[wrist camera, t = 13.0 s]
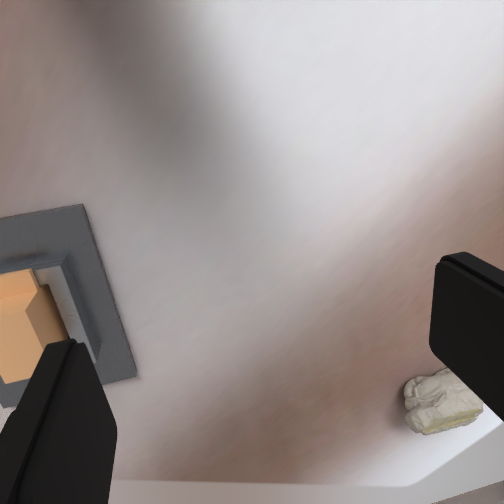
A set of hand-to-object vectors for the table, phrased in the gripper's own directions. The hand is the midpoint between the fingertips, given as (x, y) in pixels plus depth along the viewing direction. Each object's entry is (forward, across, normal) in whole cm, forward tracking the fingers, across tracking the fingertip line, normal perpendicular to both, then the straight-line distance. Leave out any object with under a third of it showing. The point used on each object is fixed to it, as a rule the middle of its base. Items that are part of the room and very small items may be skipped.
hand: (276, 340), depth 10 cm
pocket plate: (+28, +18, +12) cm, 36 cm away
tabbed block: (+27, +18, +11) cm, 35 cm away
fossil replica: (+29, -27, +36) cm, 53 cm away
